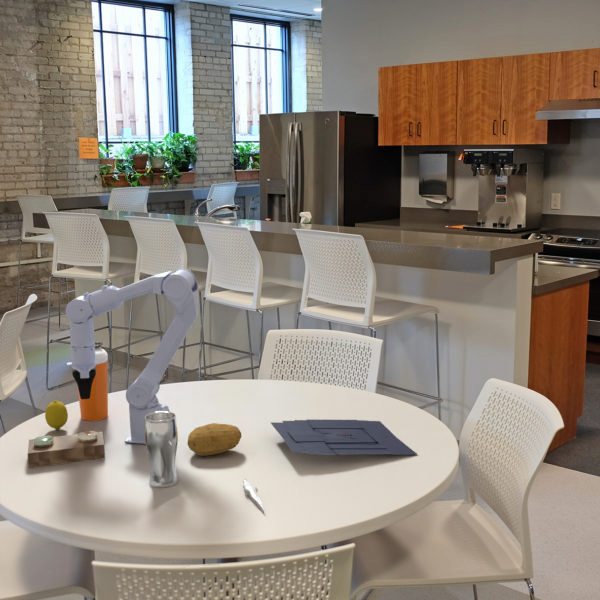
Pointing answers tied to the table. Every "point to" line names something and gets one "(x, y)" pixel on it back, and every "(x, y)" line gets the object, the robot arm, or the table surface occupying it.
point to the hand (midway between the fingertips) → (85, 398)
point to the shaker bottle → (97, 389)
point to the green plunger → (43, 441)
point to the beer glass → (161, 447)
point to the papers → (340, 437)
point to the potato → (213, 438)
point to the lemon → (56, 415)
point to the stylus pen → (252, 493)
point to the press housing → (66, 451)
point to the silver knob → (87, 436)
